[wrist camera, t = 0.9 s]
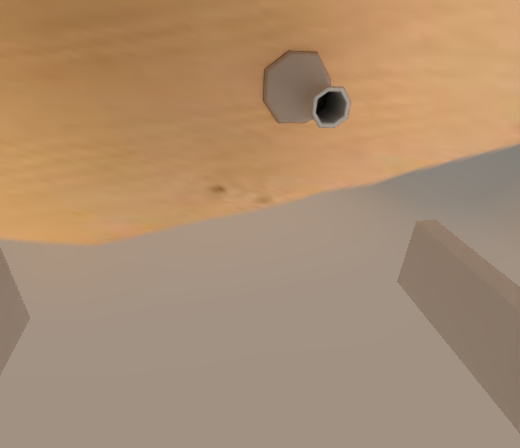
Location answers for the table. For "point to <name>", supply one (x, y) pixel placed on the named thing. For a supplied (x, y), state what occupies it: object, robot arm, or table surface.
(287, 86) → the flask
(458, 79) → the table surface
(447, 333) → the robot arm
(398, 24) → the table surface
